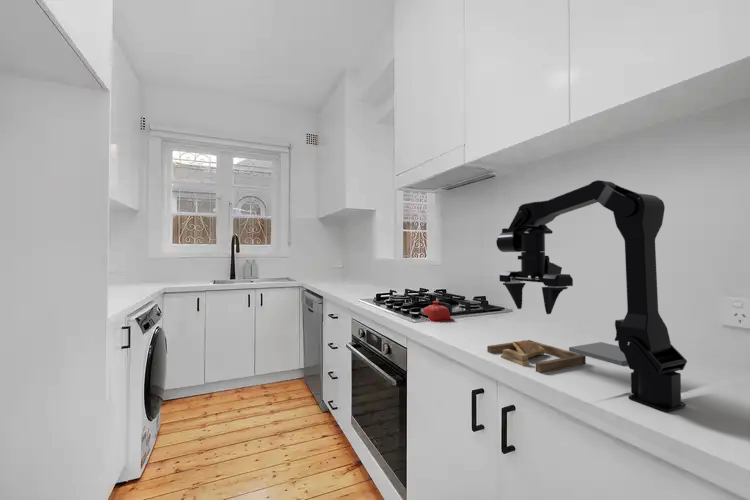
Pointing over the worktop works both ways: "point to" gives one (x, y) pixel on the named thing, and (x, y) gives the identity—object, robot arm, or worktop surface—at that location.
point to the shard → (528, 348)
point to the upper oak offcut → (515, 355)
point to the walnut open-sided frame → (564, 356)
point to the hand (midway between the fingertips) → (533, 311)
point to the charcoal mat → (602, 352)
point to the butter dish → (437, 312)
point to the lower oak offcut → (516, 361)
